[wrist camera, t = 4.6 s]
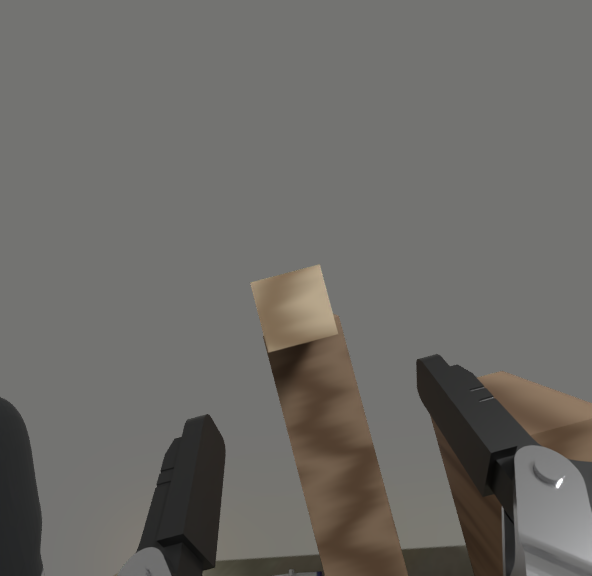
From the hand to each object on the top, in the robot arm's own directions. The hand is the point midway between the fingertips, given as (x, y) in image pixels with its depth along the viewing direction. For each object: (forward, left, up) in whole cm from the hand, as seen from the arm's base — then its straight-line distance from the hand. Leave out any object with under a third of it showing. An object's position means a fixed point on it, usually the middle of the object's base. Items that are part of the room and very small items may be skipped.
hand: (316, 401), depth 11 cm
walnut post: (0, +16, -30) cm, 34 cm away
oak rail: (0, +12, +2) cm, 13 cm away
